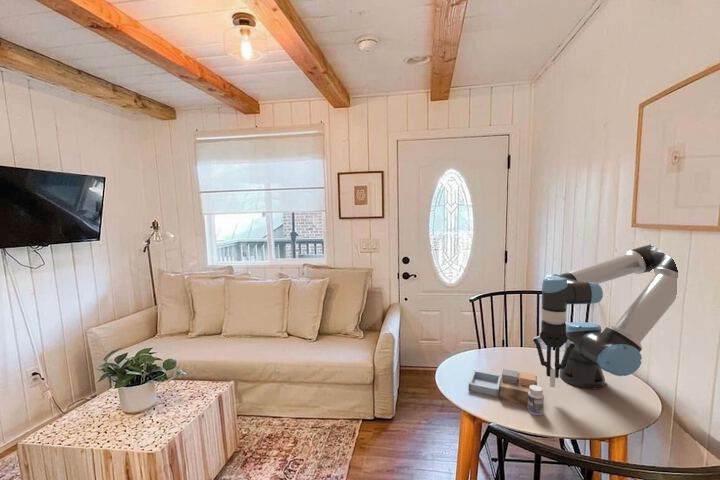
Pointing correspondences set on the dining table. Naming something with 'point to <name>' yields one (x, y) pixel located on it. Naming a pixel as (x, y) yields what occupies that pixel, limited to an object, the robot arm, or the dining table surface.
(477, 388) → the tray
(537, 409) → the pill bottle
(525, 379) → the terracotta tile
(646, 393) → the dining table surface
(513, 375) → the slate-grey tile
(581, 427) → the dining table surface
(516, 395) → the brown block
